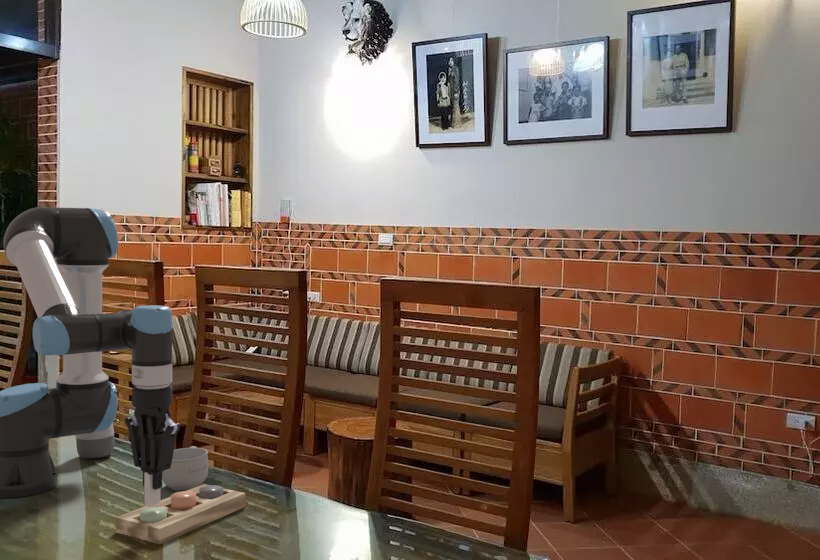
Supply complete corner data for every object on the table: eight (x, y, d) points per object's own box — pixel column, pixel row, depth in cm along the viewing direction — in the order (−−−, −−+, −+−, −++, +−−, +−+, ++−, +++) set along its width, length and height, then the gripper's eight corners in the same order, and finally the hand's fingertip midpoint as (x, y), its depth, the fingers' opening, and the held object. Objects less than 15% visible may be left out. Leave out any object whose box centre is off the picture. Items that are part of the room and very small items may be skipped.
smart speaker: (97, 463, 197) (97, 409, 197) (68, 459, 200) (67, 406, 200) (122, 453, 206) (121, 402, 206) (93, 450, 209) (93, 399, 209)
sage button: (134, 528, 150) (134, 513, 150) (154, 520, 154) (154, 505, 154) (152, 533, 148) (152, 517, 147) (172, 524, 152) (172, 509, 152)
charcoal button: (194, 504, 164) (194, 490, 164) (210, 497, 168) (210, 484, 168) (211, 508, 162) (211, 494, 161) (228, 501, 166) (228, 487, 166)
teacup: (194, 495, 173) (194, 460, 172) (150, 492, 175) (150, 457, 174) (221, 477, 186) (221, 444, 186) (180, 474, 188) (180, 442, 188)
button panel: (115, 532, 150) (115, 517, 150) (203, 497, 171) (203, 484, 171) (159, 544, 145) (159, 528, 144) (245, 506, 166) (245, 493, 165)
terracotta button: (165, 510, 157) (165, 496, 157) (183, 503, 161) (183, 489, 161) (183, 515, 154) (183, 500, 154) (201, 507, 159) (201, 493, 159)
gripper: (113, 384, 149) (114, 503, 151) (161, 392, 143) (161, 516, 145) (143, 378, 156) (144, 492, 157) (191, 385, 150) (191, 504, 151)
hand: (152, 503), depth 151 cm, fingers closed
